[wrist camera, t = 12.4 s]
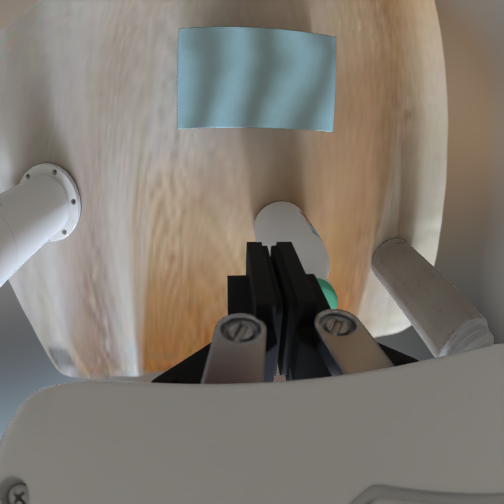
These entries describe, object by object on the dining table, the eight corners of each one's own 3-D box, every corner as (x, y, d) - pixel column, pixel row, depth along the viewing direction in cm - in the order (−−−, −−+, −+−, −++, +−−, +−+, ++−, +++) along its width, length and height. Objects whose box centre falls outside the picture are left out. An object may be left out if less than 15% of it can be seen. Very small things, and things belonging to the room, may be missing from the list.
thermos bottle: (417, 244, 48) (522, 348, 23) (398, 282, 51) (483, 396, 26) (383, 232, 46) (492, 348, 21) (364, 274, 49) (448, 403, 24)
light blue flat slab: (178, 128, 30) (177, 129, 29) (179, 30, 25) (178, 28, 24) (330, 131, 31) (333, 131, 31) (333, 38, 26) (336, 36, 26)
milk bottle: (247, 244, 45) (261, 335, 27) (260, 194, 42) (286, 263, 24) (297, 253, 47) (336, 343, 29) (312, 206, 43) (367, 278, 26)
